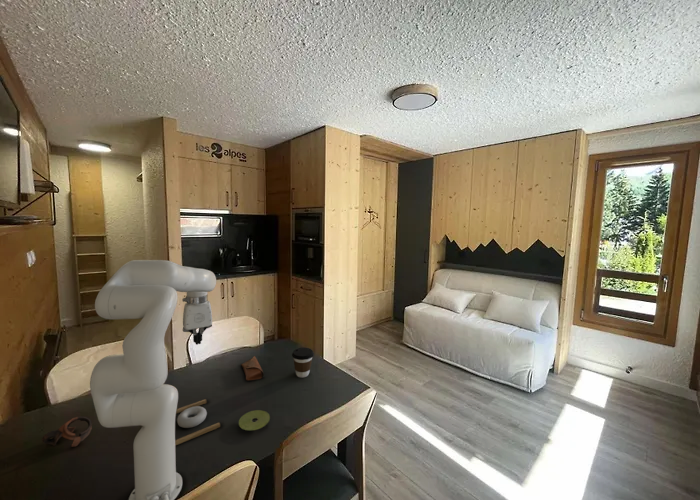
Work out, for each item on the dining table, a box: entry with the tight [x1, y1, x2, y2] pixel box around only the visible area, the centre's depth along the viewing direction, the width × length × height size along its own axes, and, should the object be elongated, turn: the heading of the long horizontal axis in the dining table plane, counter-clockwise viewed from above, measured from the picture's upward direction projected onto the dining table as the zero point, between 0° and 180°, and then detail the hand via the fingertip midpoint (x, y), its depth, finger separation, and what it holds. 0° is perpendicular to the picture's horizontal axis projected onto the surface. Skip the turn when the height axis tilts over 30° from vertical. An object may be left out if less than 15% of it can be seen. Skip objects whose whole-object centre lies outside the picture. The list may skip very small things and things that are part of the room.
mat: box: [238, 409, 271, 431], centre depth 110 cm, size 11×11×2 cm
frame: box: [175, 398, 221, 447], centre depth 109 cm, size 19×17×1 cm
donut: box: [176, 405, 208, 429], centre depth 110 cm, size 10×4×10 cm
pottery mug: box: [41, 415, 93, 448], centre depth 98 cm, size 12×10×8 cm
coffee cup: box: [291, 347, 315, 378], centre depth 146 cm, size 11×11×12 cm
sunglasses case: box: [240, 355, 265, 381], centre depth 148 cm, size 18×7×7 cm
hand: (197, 343), depth 118 cm, fingers closed
